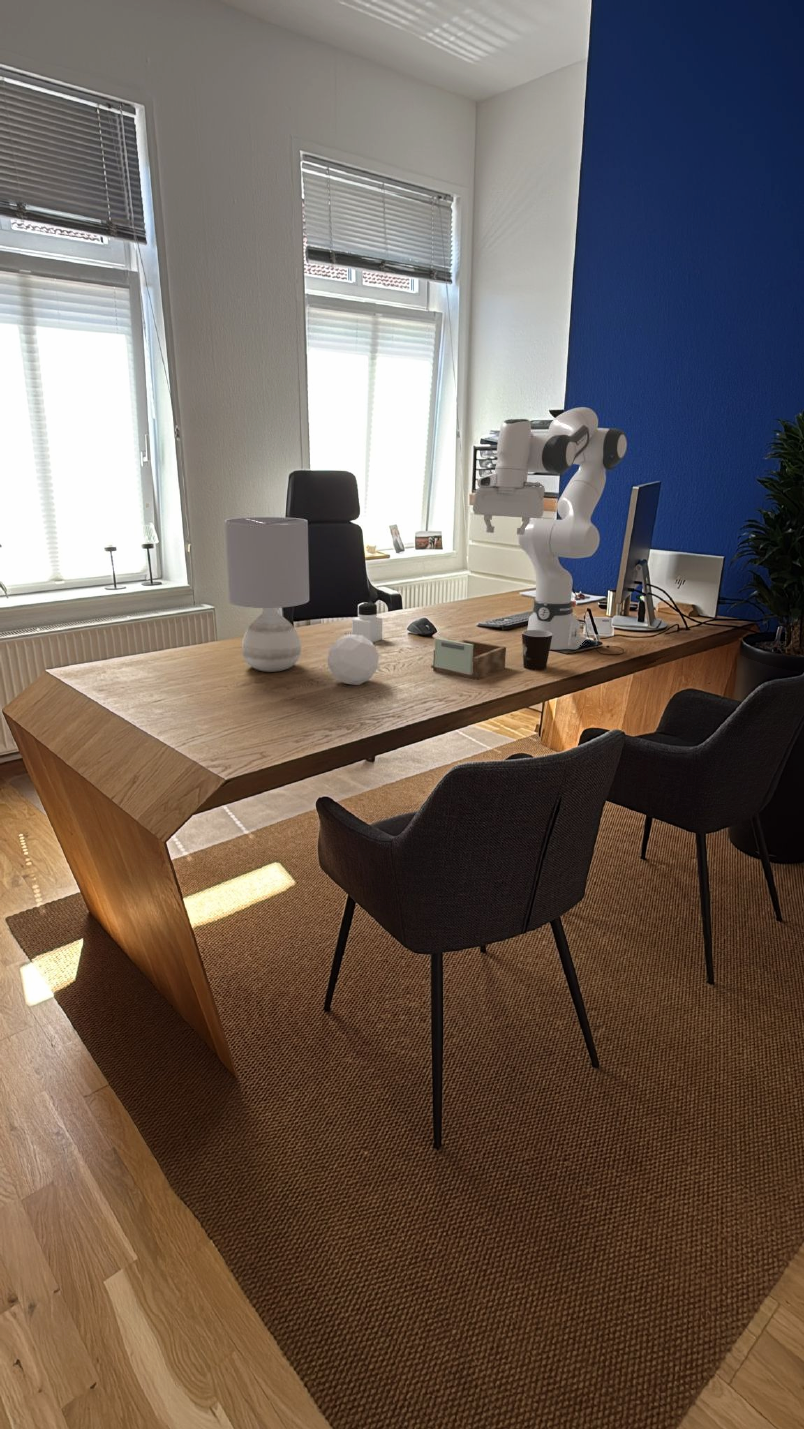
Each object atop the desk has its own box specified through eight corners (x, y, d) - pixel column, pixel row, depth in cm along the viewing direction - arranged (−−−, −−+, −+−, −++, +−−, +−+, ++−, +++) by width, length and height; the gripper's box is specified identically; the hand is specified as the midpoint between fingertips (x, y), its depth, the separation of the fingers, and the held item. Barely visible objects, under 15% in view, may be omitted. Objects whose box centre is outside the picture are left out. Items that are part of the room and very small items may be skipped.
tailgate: (436, 666, 218) (437, 637, 216) (472, 673, 212) (473, 644, 209) (433, 667, 217) (434, 638, 215) (469, 674, 211) (470, 645, 208)
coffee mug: (549, 672, 220) (552, 637, 217) (518, 670, 222) (521, 635, 219) (550, 661, 231) (553, 628, 228) (521, 659, 233) (523, 626, 229)
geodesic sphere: (310, 657, 210) (326, 622, 200) (353, 650, 218) (370, 616, 208) (333, 699, 204) (350, 665, 194) (376, 690, 212) (395, 658, 202)
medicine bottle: (382, 639, 255) (382, 602, 251) (370, 643, 249) (370, 606, 245) (364, 636, 258) (364, 600, 254) (352, 640, 252) (351, 603, 248)
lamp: (326, 667, 221) (324, 521, 208) (266, 683, 206) (259, 526, 193) (277, 654, 235) (272, 515, 222) (217, 667, 220) (207, 519, 206)
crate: (463, 659, 232) (464, 639, 230) (504, 667, 224) (506, 647, 223) (430, 671, 219) (431, 650, 217) (473, 680, 211) (474, 659, 209)
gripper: (550, 483, 209) (544, 536, 212) (483, 481, 220) (479, 531, 223) (540, 481, 204) (534, 535, 207) (472, 479, 215) (467, 531, 218)
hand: (505, 533), depth 215 cm, fingers open, 8 cm apart
